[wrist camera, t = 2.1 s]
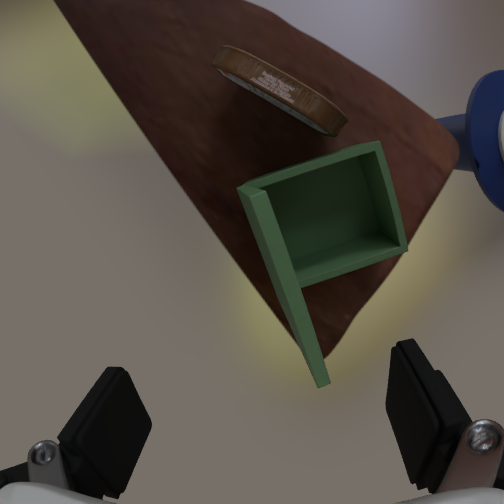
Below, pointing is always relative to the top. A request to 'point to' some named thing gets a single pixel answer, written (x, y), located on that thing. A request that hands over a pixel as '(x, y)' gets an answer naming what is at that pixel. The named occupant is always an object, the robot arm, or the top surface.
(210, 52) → the top surface
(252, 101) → the top surface
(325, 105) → the tin
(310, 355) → the lid
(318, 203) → the chest
